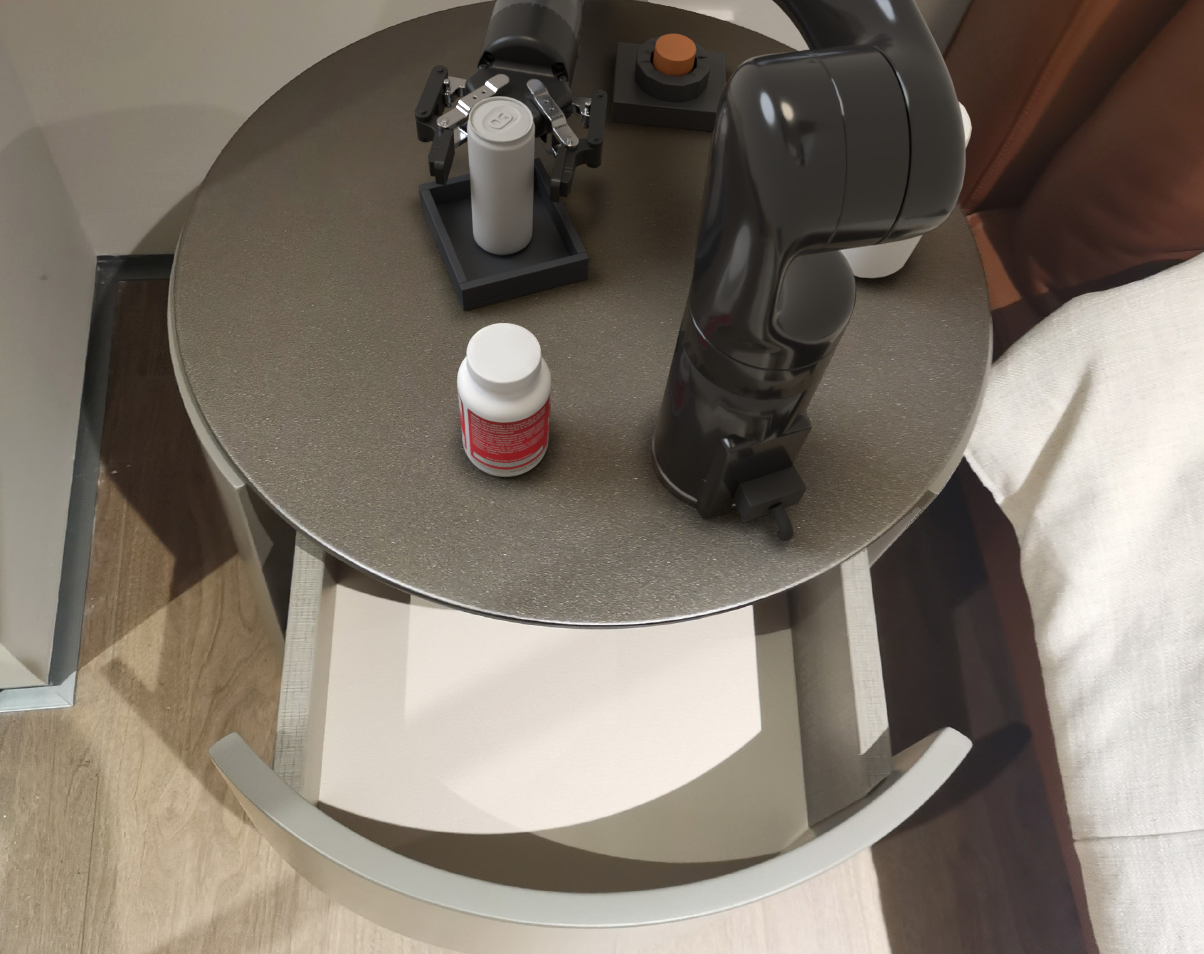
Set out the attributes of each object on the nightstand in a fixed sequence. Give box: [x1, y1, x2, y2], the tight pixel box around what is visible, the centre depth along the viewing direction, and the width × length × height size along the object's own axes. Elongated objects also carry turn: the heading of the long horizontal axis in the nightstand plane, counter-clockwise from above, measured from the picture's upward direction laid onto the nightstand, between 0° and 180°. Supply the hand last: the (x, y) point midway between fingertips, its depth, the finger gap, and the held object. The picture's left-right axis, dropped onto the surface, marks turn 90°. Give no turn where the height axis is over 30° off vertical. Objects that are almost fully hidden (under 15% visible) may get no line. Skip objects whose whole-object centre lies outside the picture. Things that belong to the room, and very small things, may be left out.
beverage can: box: [467, 96, 536, 255], centre depth 74 cm, size 5×5×12 cm
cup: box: [840, 100, 973, 279], centre depth 76 cm, size 8×8×14 cm
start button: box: [653, 33, 696, 76], centre depth 86 cm, size 4×4×2 cm
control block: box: [610, 34, 727, 133], centre depth 88 cm, size 10×8×4 cm
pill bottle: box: [456, 322, 552, 478], centre depth 66 cm, size 6×6×11 cm
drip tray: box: [418, 157, 590, 312], centre depth 79 cm, size 11×10×2 cm
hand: (497, 185), depth 72 cm, fingers open, 8 cm apart
